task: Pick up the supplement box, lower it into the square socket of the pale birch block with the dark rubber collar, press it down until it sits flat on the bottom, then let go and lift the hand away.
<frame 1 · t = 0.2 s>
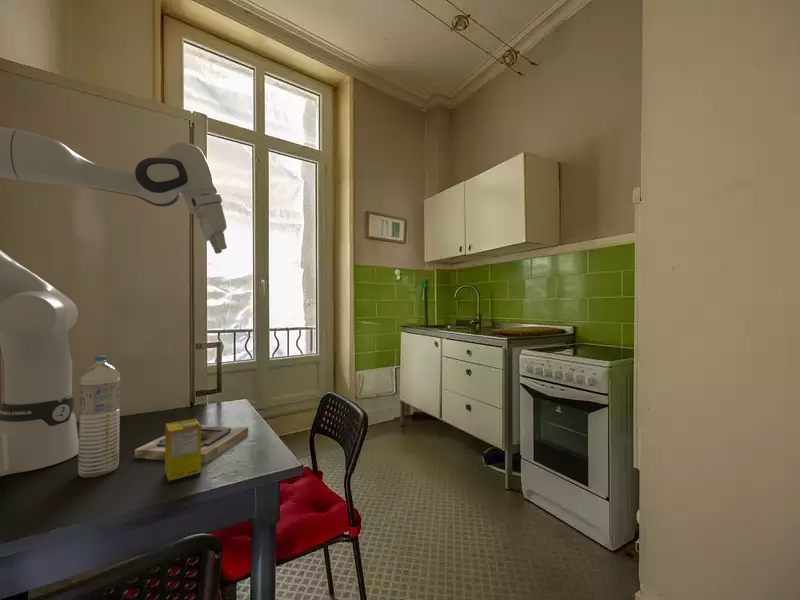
hand: (221, 251, 104), 52 cm above the table, tool tilted 20°, fingers open, 8 cm apart
water bottle: (98, 472, 78), on the table
socket block: (196, 445, 92), on the table
supplement box: (182, 476, 77), on the table
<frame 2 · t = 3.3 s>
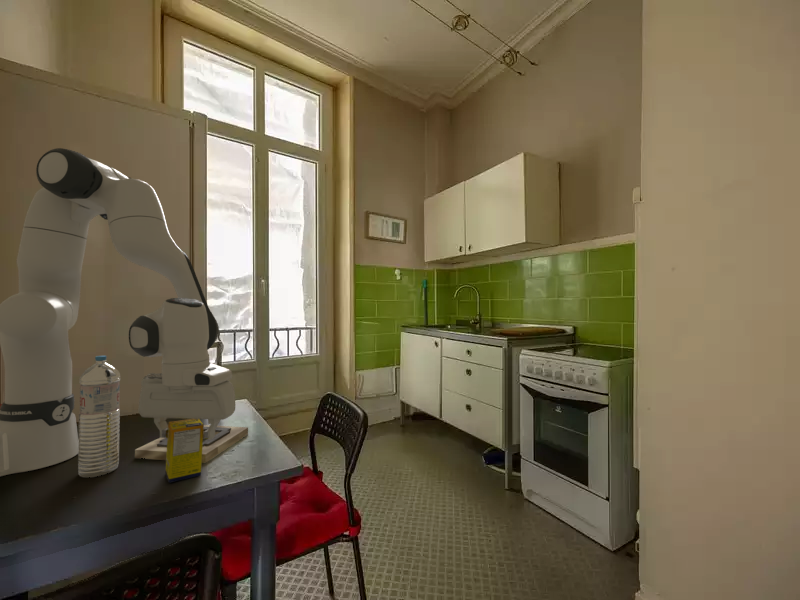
hand: (187, 437, 77), 8 cm above the table, tool pointing down, fingers open, 8 cm apart
supplement box: (182, 475, 77), on the table, touching gripper
everything else where it was.
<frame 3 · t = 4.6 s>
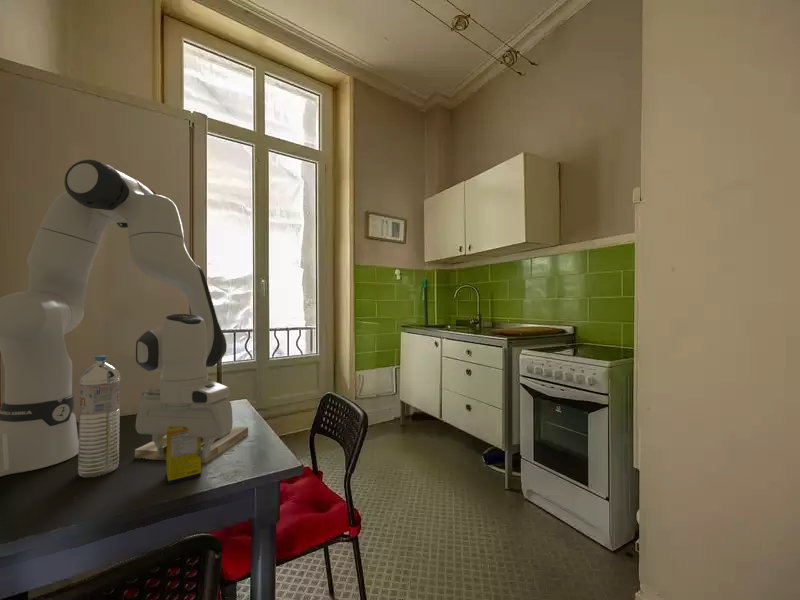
hand: (183, 455, 77), 4 cm above the table, tool pointing down, fingers open, 8 cm apart
nothing on the table moved.
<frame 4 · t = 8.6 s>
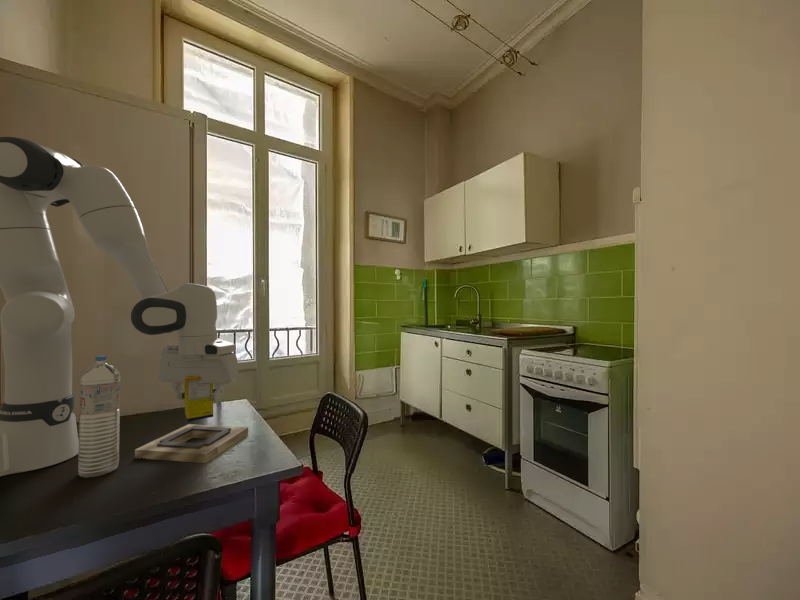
hand: (198, 399, 93), 12 cm above the table, tool pointing down, fingers closed on supplement box, 8 cm apart
supplement box: (198, 417, 93), point 7 cm above the table, touching gripper
everything else where it was.
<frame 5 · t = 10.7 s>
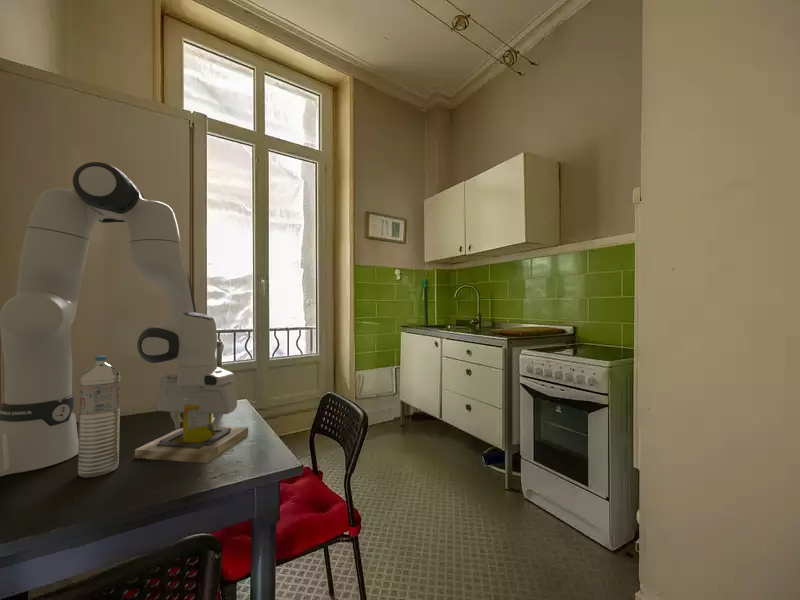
hand: (196, 429, 93), 4 cm above the table, tool pointing down, fingers closed on supplement box, 8 cm apart
supplement box: (196, 445, 93), resting in socket block, touching gripper
everything else where it was.
when the fingers open (4 cm above the table, at t = 12.1 s): supplement box stays where it is, resting in socket block.
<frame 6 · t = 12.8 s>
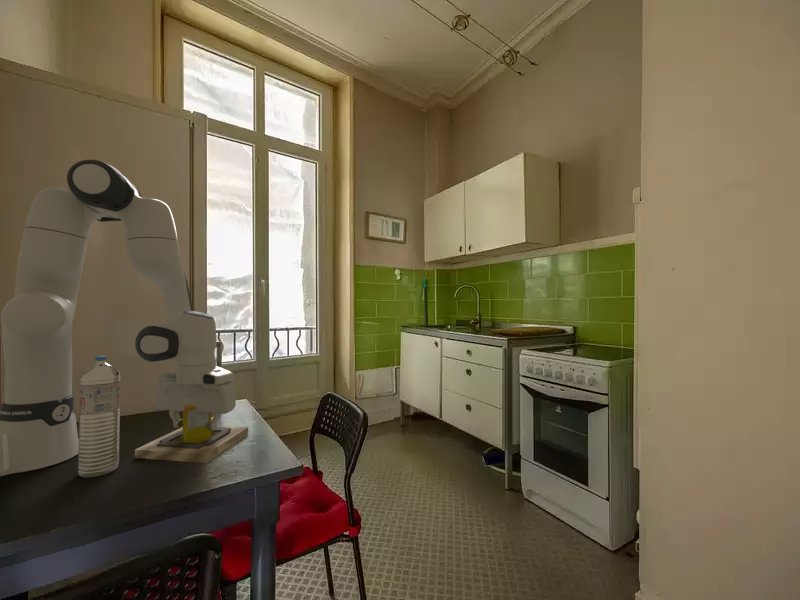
hand: (195, 428, 92), 5 cm above the table, tool pointing down, fingers open, 8 cm apart
supplement box: (196, 445, 93), resting in socket block, touching gripper
everything else where it was.
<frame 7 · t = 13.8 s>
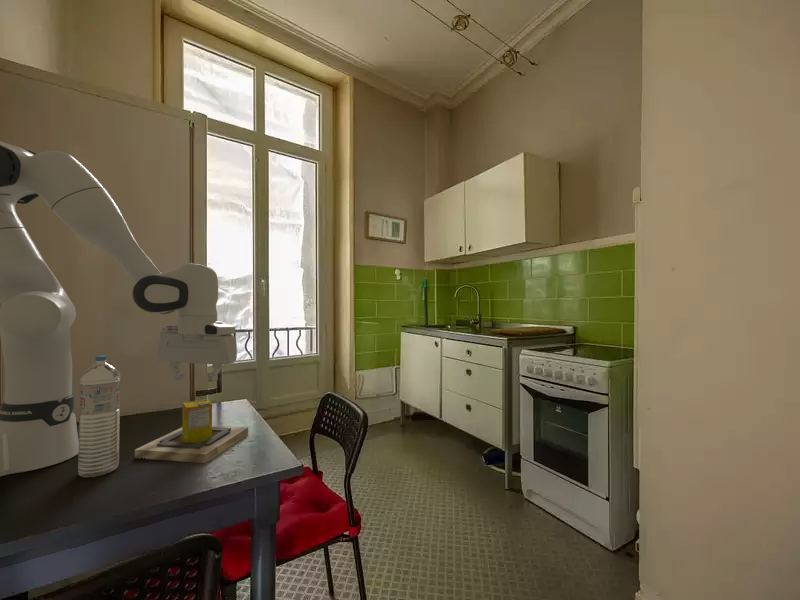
hand: (195, 380, 92), 17 cm above the table, tool pointing down, fingers open, 8 cm apart
supplement box: (196, 445, 93), resting in socket block
everything else where it was.
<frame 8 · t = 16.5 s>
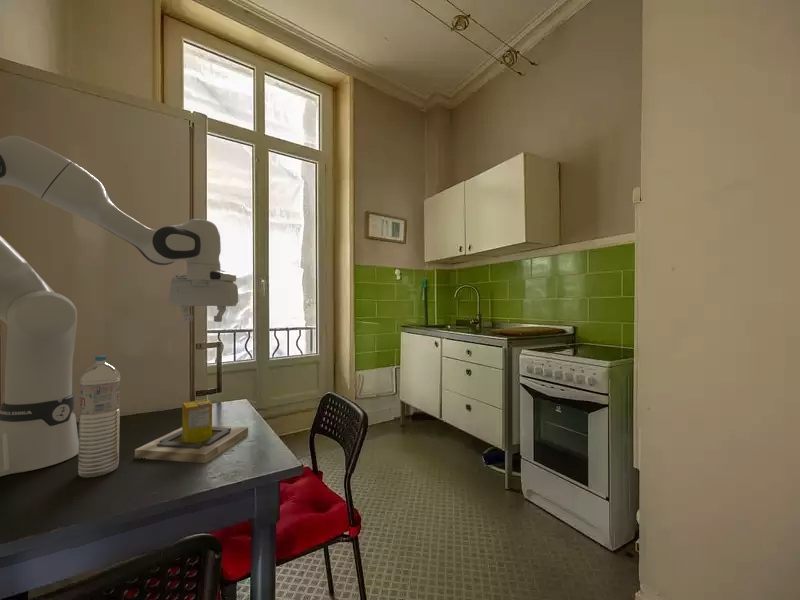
hand: (203, 321, 107), 31 cm above the table, tool pointing down, fingers open, 8 cm apart
nothing on the table moved.
at the end: supplement box 0.3 cm off-centre on the socket block, point 0.0 cm above the socket block's base; supplement box tilted 0°; the gripper is holding nothing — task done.
